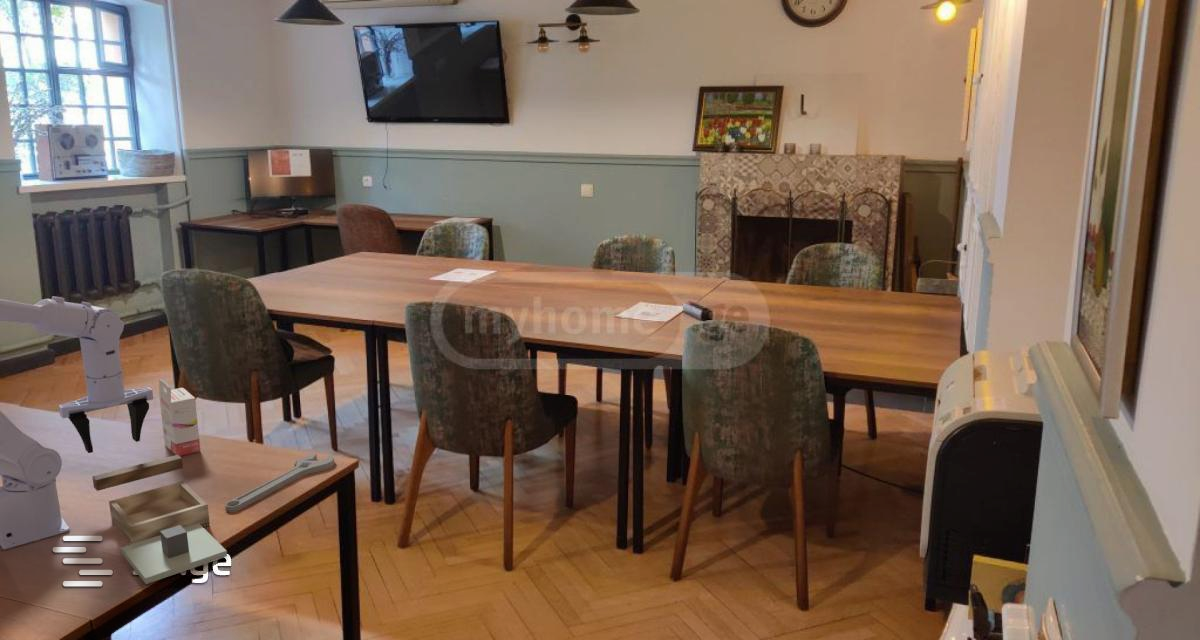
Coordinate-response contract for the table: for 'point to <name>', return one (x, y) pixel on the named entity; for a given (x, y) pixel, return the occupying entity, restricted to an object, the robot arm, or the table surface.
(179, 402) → the ink cartridge box
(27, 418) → the table surface
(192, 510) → the open wooden tray
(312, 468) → the adjustable wrench
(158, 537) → the lid
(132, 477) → the brown rectangular block
